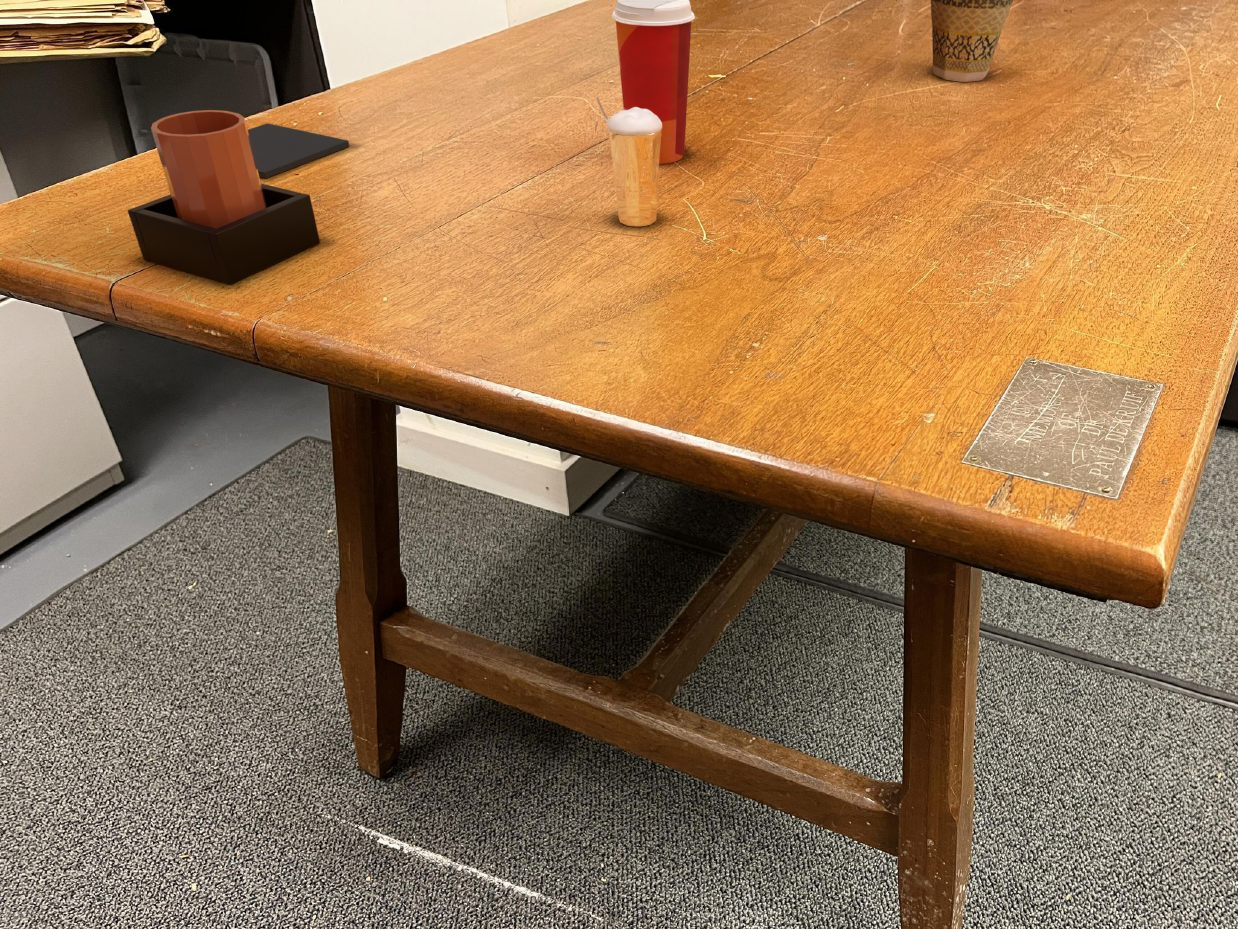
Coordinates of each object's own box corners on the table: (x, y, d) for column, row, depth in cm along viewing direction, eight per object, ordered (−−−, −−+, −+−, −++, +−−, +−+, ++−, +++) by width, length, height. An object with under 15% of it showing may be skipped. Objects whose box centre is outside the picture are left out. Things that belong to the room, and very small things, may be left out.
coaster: (181, 158, 102) (179, 152, 101) (268, 128, 110) (267, 122, 109) (265, 178, 98) (264, 172, 98) (349, 146, 106) (348, 140, 105)
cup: (172, 257, 84) (131, 127, 77) (236, 230, 88) (202, 105, 82) (231, 273, 81) (194, 141, 75) (293, 245, 86) (263, 118, 80)
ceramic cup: (992, 89, 128) (1007, -3, 121) (911, 79, 130) (922, -11, 124) (1010, 64, 137) (1026, -22, 131) (935, 56, 140) (946, -29, 134)
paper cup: (659, 137, 110) (656, -12, 101) (710, 156, 106) (712, 1, 97) (600, 153, 106) (592, -1, 97) (651, 173, 101) (648, 13, 93)
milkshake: (608, 208, 94) (603, 89, 88) (667, 212, 93) (666, 93, 87) (596, 227, 90) (590, 105, 84) (658, 231, 90) (656, 109, 84)
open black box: (143, 259, 83) (126, 209, 81) (236, 221, 90) (224, 174, 87) (230, 285, 80) (215, 233, 77) (320, 243, 86) (309, 194, 84)
